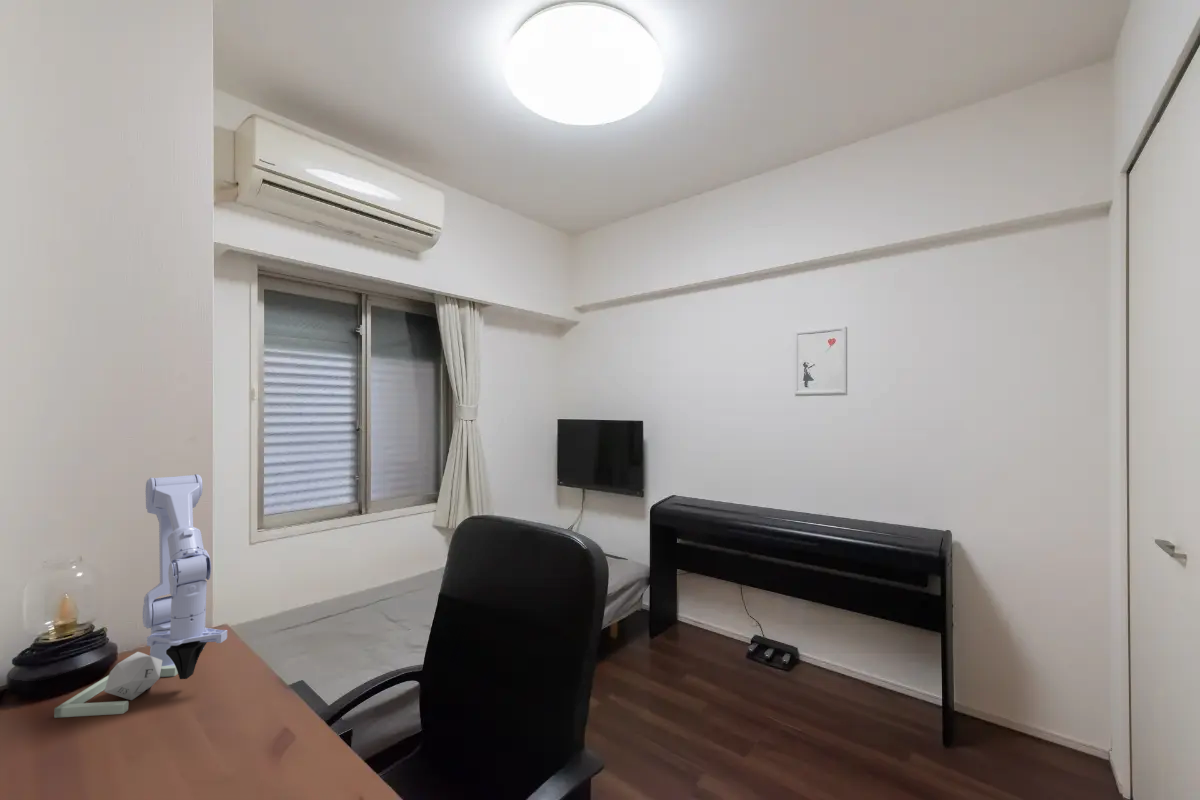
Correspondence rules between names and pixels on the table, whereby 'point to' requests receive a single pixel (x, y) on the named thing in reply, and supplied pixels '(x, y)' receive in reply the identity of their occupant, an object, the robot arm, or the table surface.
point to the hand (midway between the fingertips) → (186, 676)
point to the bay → (80, 708)
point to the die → (133, 675)
